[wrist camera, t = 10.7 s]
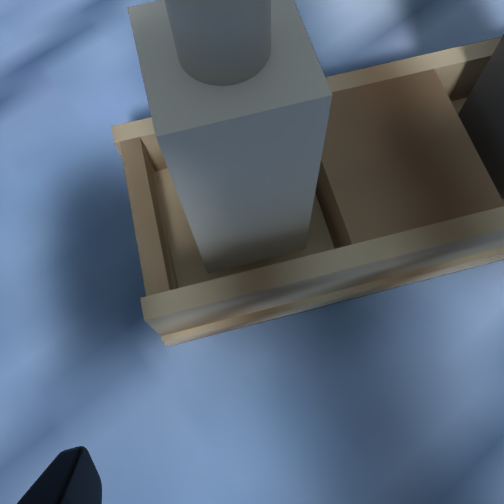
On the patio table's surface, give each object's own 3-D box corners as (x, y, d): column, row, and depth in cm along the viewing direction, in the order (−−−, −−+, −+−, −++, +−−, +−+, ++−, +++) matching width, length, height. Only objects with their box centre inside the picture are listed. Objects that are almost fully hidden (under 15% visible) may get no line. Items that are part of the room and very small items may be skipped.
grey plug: (305, 249, 19) (360, -64, 7) (208, 273, 18) (100, -8, 7) (277, 166, 20) (286, -204, 9) (187, 188, 20) (71, -161, 8)
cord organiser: (167, 346, 18) (144, 326, 15) (134, 170, 22) (110, 122, 18) (642, 223, 20) (715, 180, 16) (546, 73, 23) (591, 12, 19)
